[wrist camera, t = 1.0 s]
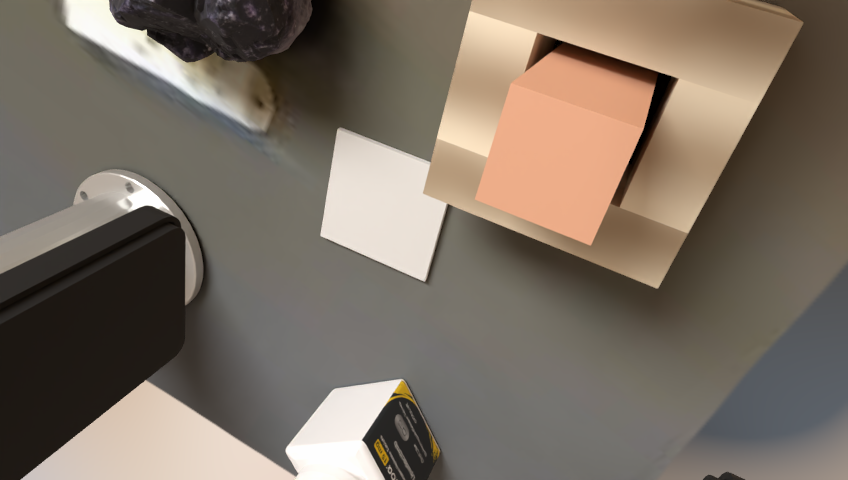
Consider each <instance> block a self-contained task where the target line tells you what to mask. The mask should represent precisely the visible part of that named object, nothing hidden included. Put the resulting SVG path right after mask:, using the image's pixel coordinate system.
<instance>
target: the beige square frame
mask: <svg viewBox="0 0 848 480" xmlns="http://www.w3.org/2000/svg"><path fill="white" fill-rule="evenodd" d="M803 23H804V22H802V21H801V20H799V19H798V18H797V17H795V16H794V15H793V14H791V13H790V12H788V11H787V10H786V9H784V8H783V7H780V6H776V5H773V4H769V3H766V2H762V1H759V0H472V3H471V7H470V11H469V15H468V19H467V23H466V27H465V31H464V35H463V39H462V42H461V46H460V50H459V54H458V58H457V62H456V66H455V70H454V74H453V78H452V81H451V85H450V89H449V93H448V97H447V101H446V105H445V109H444V113H443V116H442V120H441V124H440V128H439V132H438V136H437V140H436V144H435V148H434V152H433V155H432V159H431V163H430V167H429V171H428V175H427V179H426V183H425V187H424V191H423V194H425V195H427V196H430V197H432V198H435V199H437V200H440V201H442V202H444V203H447V204H449V205H452V206H454V207H457V208H459V209H462V210H464V211H467V212H469V213H472V214H474V215H477V216H479V217H482V218H484V219H486V220H489V221H491V222H494V223H496V224H499V225H501V226H504V227H506V228H509V229H511V230H514V231H516V232H519V233H521V234H524V235H526V236H529V237H531V238H533V239H536V240H538V241H541V242H543V243H546V244H548V245H551V246H553V247H556V248H558V249H561V250H563V251H566V252H568V253H571V254H573V255H575V256H578V257H580V258H583V259H585V260H588V261H590V262H593V263H595V264H598V265H600V266H603V267H605V268H608V269H610V270H613V271H615V272H617V273H620V274H622V275H625V276H627V277H630V278H632V279H635V280H637V281H640V282H642V283H645V284H647V285H650V286H652V287H655V288H657V289H658V287H659V286H660V284H661V282H662V280H663V278H664V277H665V275H666V273H667V271H668V269H669V267H670V266H671V264H672V262H673V260H674V258H675V256H676V255H677V253H678V251H679V249H680V247H681V246H682V244H683V242H684V240H685V238H686V236H687V235H688V233H689V231H690V229H691V227H692V226H693V224H694V222H695V220H696V218H697V216H698V215H699V213H700V211H701V209H702V207H703V205H704V204H705V202H706V200H707V198H708V196H709V195H710V193H711V191H712V189H713V187H714V185H715V184H716V182H717V180H718V178H719V176H720V174H721V173H722V171H723V169H724V167H725V165H726V164H727V162H728V160H729V158H730V156H731V154H732V153H733V151H734V149H735V147H736V145H737V144H738V142H739V140H740V138H741V136H742V134H743V133H744V131H745V129H746V127H747V125H748V123H749V122H750V120H751V118H752V116H753V114H754V113H755V111H756V109H757V107H758V105H759V103H760V102H761V100H762V98H763V96H764V94H765V93H766V91H767V89H768V87H769V85H770V83H771V82H772V80H773V78H774V76H775V74H776V72H777V71H778V69H779V67H780V65H781V63H782V62H783V60H784V58H785V56H786V54H787V52H788V51H789V49H790V47H791V45H792V43H793V42H794V40H795V38H796V36H797V34H798V32H799V31H800V29H801V27H802V25H803ZM556 39H558V40H561V41H564V42H567V43H570V44H574V45H577V46H580V47H583V48H586V49H589V50H592V51H595V52H598V53H601V54H605V55H608V56H611V57H614V58H617V59H620V60H623V61H626V62H629V63H632V64H636V65H639V66H642V67H645V68H648V69H651V70H654V71H657V72H660V73H663V74H667V75H670V76H672V77H671V79H670V81H669V83H668V86H667V88H666V90H665V92H664V94H663V97H662V99H661V101H660V103H659V105H658V107H657V110H656V112H655V114H654V116H653V118H652V121H651V123H650V125H649V127H648V129H647V132H646V134H645V136H644V138H643V140H642V143H641V145H640V147H639V149H638V151H637V154H636V156H635V158H634V160H633V162H632V165H629V164H628V165H627V167H626V169H625V171H624V173H623V176H622V178H621V180H620V182H619V184H618V187H617V189H616V191H615V193H614V196H613V198H612V200H611V202H610V204H609V207H608V209H607V211H606V213H605V215H604V218H603V220H602V222H601V224H600V227H599V229H598V231H597V233H596V235H595V238H594V240H593V242H592V244H591V246H590V245H588V244H585V243H583V242H580V241H578V240H575V239H572V238H570V237H567V236H565V235H562V234H560V233H557V232H555V231H552V230H550V229H547V228H545V227H542V226H540V225H537V224H535V223H532V222H530V221H527V220H525V219H522V218H520V217H517V216H515V215H512V214H510V213H507V212H505V211H502V210H500V209H497V208H495V207H492V206H490V205H487V204H485V203H482V202H480V201H477V200H475V197H476V194H477V191H478V187H479V184H480V181H481V178H482V174H483V171H484V168H485V165H486V162H487V158H488V155H489V152H490V149H491V146H492V142H493V139H494V136H495V133H496V129H497V126H498V123H499V120H500V117H501V113H502V110H503V107H504V104H505V101H506V97H507V94H508V91H509V88H510V85H511V83H512V82H513V81H514V80H516V79H517V78H518V77H519V76H521V75H522V74H523V73H525V72H526V71H527V70H529V69H530V68H531V67H532V66H534V65H535V64H536V63H538V62H539V61H540V60H542V59H543V58H544V57H545V56H547V55H548V54H549V53H551V52H552V50H553V47H554V44H555V41H556Z"/></svg>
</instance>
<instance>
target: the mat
mask: <svg viewBox="0 0 848 480" xmlns="http://www.w3.org/2000/svg"><path fill="white" fill-rule="evenodd" d="M430 163H431V162H428V161H426V160H423V159H421V158H418V157H415V156H413V155H410V154H408V153H405V152H403V151H400V150H398V149H395V148H392V147H390V146H387V145H385V144H382V143H380V142H377V141H375V140H372V139H369V138H367V137H364V136H362V135H359V134H357V133H354V132H351V131H349V130H346V129H344V128H341V127H340V128H338V129H337V135H336V142H335V148H334V154H333V161H332V167H331V173H330V179H329V186H328V192H327V198H326V204H325V211H324V217H323V223H322V230H321V236H322V237H324V238H326V239H329V240H331V241H333V242H335V243H338V244H340V245H342V246H345V247H347V248H349V249H351V250H354V251H356V252H358V253H360V254H363V255H365V256H367V257H370V258H372V259H374V260H376V261H379V262H381V263H383V264H385V265H388V266H390V267H392V268H394V269H397V270H399V271H401V272H404V273H406V274H408V275H410V276H413V277H415V278H417V279H419V280H422V281H424V282H425V281H426V279H427V277H428V273H429V270H430V266H431V263H432V259H433V256H434V252H435V249H436V245H437V242H438V238H439V235H440V231H441V228H442V224H443V221H444V217H445V214H446V210H447V207H448V204H447V203H444V202H442V201H440V200H437V199H435V198H432V197H430V196H427V195H425V194H423V191H424V187H425V183H426V179H427V175H428V171H429V167H430Z"/></svg>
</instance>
